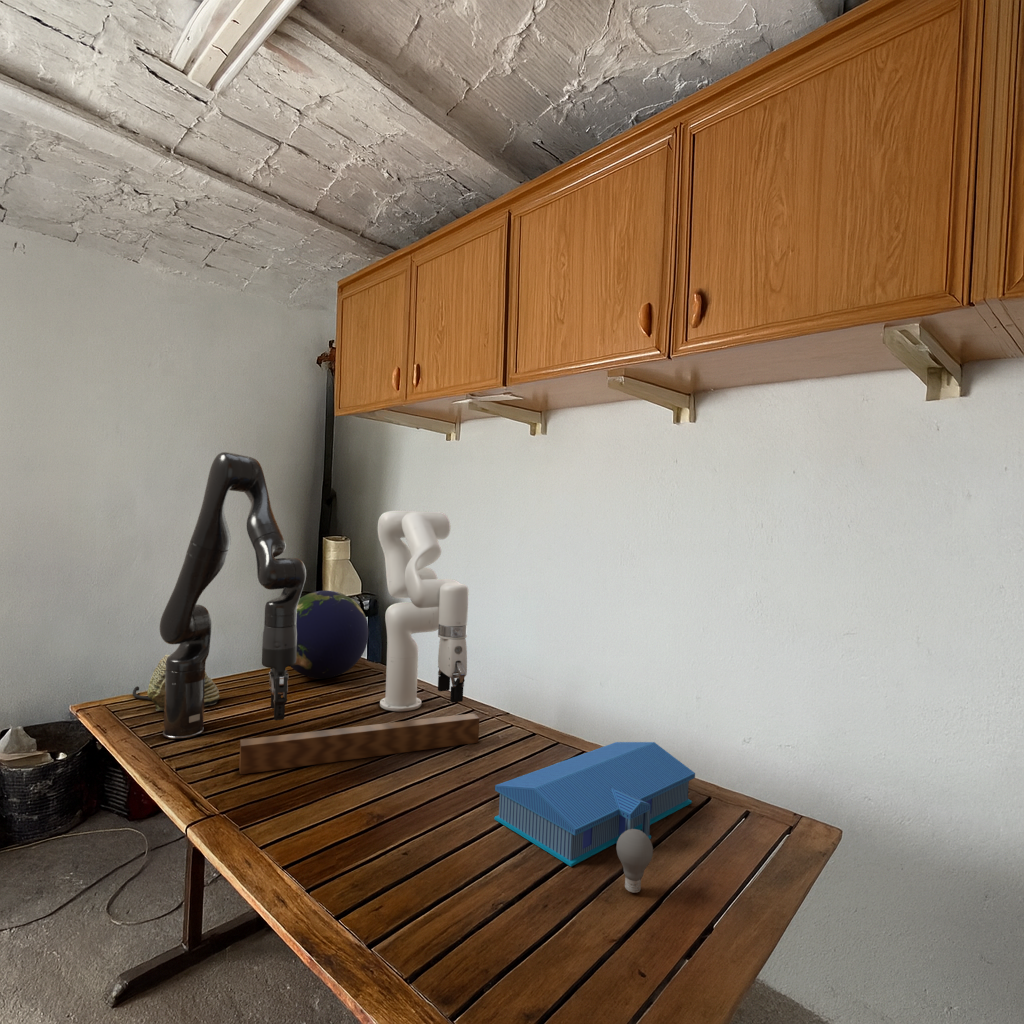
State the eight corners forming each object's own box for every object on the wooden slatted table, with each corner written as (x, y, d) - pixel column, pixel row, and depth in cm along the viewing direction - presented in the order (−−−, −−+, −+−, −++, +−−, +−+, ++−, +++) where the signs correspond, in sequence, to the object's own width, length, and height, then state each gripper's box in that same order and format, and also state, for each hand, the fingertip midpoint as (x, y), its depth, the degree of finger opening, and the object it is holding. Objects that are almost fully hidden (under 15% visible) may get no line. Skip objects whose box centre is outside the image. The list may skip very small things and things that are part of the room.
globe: (256, 681, 211) (260, 592, 211) (316, 661, 239) (319, 582, 238) (330, 695, 200) (333, 601, 199) (383, 673, 228) (386, 590, 227)
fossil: (144, 707, 182) (145, 655, 182) (212, 696, 194) (213, 647, 194) (151, 716, 175) (153, 662, 175) (221, 703, 188) (223, 653, 188)
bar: (239, 774, 142) (240, 746, 142) (239, 767, 146) (240, 739, 146) (478, 742, 167) (479, 718, 167) (472, 737, 171) (473, 713, 171)
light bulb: (610, 879, 108) (613, 822, 108) (644, 879, 109) (647, 822, 109) (619, 902, 102) (622, 840, 102) (655, 901, 103) (658, 840, 103)
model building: (584, 875, 109) (587, 817, 109) (492, 818, 128) (494, 769, 127) (705, 808, 136) (707, 762, 136) (614, 769, 154) (616, 728, 154)
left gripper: (300, 650, 142) (298, 722, 142) (293, 636, 155) (290, 702, 155) (264, 652, 139) (262, 725, 139) (260, 638, 151) (257, 705, 152)
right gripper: (478, 637, 159) (475, 704, 159) (454, 623, 175) (452, 685, 175) (450, 638, 156) (447, 707, 156) (428, 625, 171) (426, 688, 172)
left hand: (277, 713), depth 147 cm, fingers open, 8 cm apart
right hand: (449, 696), depth 165 cm, fingers open, 9 cm apart
